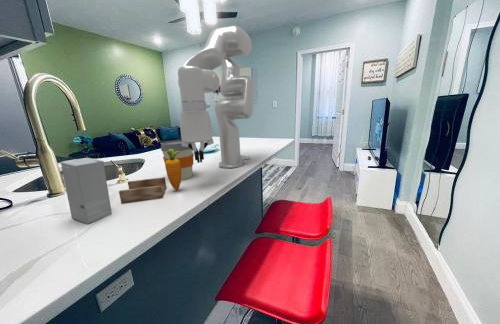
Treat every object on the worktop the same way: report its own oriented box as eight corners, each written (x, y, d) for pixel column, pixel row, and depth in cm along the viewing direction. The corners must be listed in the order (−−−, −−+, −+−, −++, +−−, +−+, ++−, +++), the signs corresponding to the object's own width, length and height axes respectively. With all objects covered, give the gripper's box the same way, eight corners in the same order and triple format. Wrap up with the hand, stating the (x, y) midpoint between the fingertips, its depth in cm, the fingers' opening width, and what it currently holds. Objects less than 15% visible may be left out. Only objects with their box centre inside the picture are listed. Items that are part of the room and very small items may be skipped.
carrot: (176, 187, 76) (170, 147, 72) (187, 188, 74) (181, 147, 70) (166, 192, 71) (159, 149, 67) (177, 194, 69) (171, 150, 66)
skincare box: (71, 218, 56) (55, 162, 52) (99, 207, 62) (87, 156, 58) (87, 225, 52) (71, 165, 48) (116, 212, 58) (103, 158, 54)
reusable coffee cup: (166, 174, 92) (161, 141, 88) (195, 171, 96) (192, 138, 92) (164, 183, 80) (158, 145, 77) (197, 179, 84) (193, 142, 80)
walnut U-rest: (166, 187, 76) (164, 177, 75) (162, 197, 67) (160, 186, 66) (130, 192, 73) (128, 181, 72) (121, 203, 64) (118, 191, 63)
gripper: (215, 107, 73) (219, 157, 77) (171, 108, 69) (178, 161, 74) (218, 106, 66) (222, 162, 70) (168, 108, 62) (176, 166, 67)
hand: (199, 161), depth 72 cm, fingers closed
